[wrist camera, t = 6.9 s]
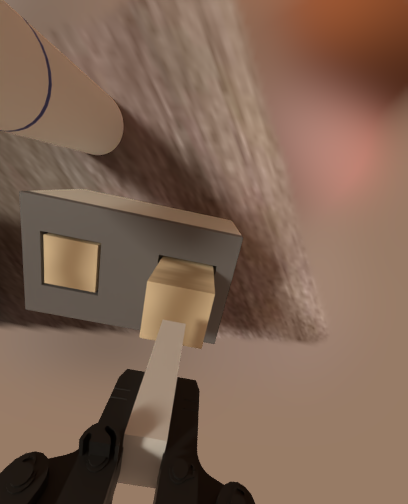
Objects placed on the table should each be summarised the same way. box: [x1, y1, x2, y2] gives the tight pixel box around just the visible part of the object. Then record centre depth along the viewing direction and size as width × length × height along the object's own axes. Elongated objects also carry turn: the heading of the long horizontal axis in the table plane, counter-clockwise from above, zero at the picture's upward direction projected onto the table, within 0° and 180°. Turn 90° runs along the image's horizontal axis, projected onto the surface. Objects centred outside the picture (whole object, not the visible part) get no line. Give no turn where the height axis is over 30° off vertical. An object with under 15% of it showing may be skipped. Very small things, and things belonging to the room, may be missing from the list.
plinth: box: [19, 189, 243, 344], centre depth 26 cm, size 20×12×10 cm, turn 78°
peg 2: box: [140, 256, 215, 349], centre depth 20 cm, size 5×5×8 cm
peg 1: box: [43, 233, 101, 292], centre depth 24 cm, size 5×5×8 cm
